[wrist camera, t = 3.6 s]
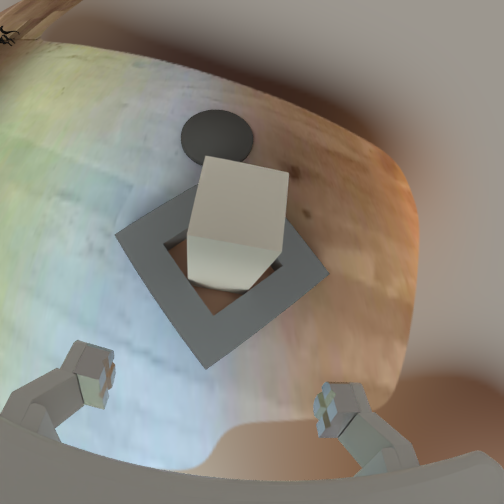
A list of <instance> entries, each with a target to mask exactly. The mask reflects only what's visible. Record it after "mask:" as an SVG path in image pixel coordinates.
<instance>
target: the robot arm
mask: <svg viewBox="0 0 504 504" xmlns="http://www.w3.org/2000/svg"><path fill="white" fill-rule="evenodd" d="M113 359H114V351H113V350H110V349H107V348H103V347H100V346H96V345H93V344H90V343H86V342H82V341H79V340H76V341H75V342H74V343H73V345H72V347H71V349H70V351H69V353H68V354H67V356H66V358H65V360H64V362H63V364H62V366H61V368H60V369H58V368H56V369H54V370H52V371H50V372H48V373H46V374H45V375H43V376H41V377H39V378H37V379H35V380H34V381H32V382H30V383H28V384H26V385H24V386H22V387H21V388H19V389H17V390H15V391H13V392H12V393H11V395H10V397H9V399H8V401H7V403H6V404H5V406H4V408H3V410H2V412H1V414H0V504H504V470H503V468H502V467H501V465H500V464H498V463H497V462H496V461H495V460H494V459H492V458H490V456H488V455H487V454H485V453H484V452H482V451H474V452H470V453H467V454H464V455H461V456H457V457H454V458H450V459H446V460H443V461H439V462H435V463H431V464H427V465H422V466H420V465H419V462H418V459H417V457H416V454H415V451H414V449H413V446H412V444H411V443H410V442H409V441H408V440H407V439H405V438H404V437H403V436H402V435H401V434H400V433H398V432H397V431H396V430H395V429H394V428H392V427H391V426H390V425H389V424H387V422H386V421H384V420H383V419H382V418H381V417H380V416H378V415H377V414H376V413H375V412H372V411H371V408H370V405H369V402H368V400H367V397H366V394H365V392H364V389H363V386H362V384H361V383H352V382H349V383H348V382H325V383H324V384H323V386H322V392H321V393H319V394H317V396H316V398H315V401H314V406H313V408H314V416H315V417H316V418H317V419H318V420H319V421H318V423H317V430H318V435H319V438H338V440H339V441H340V442H341V443H342V444H343V446H344V447H345V448H346V449H347V450H348V452H349V453H350V454H351V455H352V456H353V457H354V459H355V460H356V461H357V462H358V463H359V464H360V466H361V467H362V469H361V470H360V471H359V472H358V473H357V474H355V476H354V477H349V478H338V479H326V480H305V481H259V480H240V479H227V478H226V479H225V478H216V477H207V476H198V475H191V474H184V473H177V472H171V471H166V470H160V469H155V468H150V467H145V466H141V465H136V464H132V463H128V462H124V461H120V460H116V459H112V458H108V457H105V456H101V455H98V454H94V453H91V452H88V451H85V450H82V449H79V448H76V447H73V446H70V445H67V444H64V443H61V441H60V439H59V437H58V434H57V432H56V430H55V428H56V427H57V426H59V425H60V424H61V423H62V422H64V421H65V420H66V419H67V418H69V417H70V416H71V415H72V414H74V413H75V412H76V411H78V410H79V409H80V408H81V407H83V406H84V404H85V405H89V406H93V407H96V408H100V409H105V406H106V403H107V400H108V398H109V394H108V390H109V389H111V388H112V386H113V383H114V378H115V364H114V363H113Z"/></svg>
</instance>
